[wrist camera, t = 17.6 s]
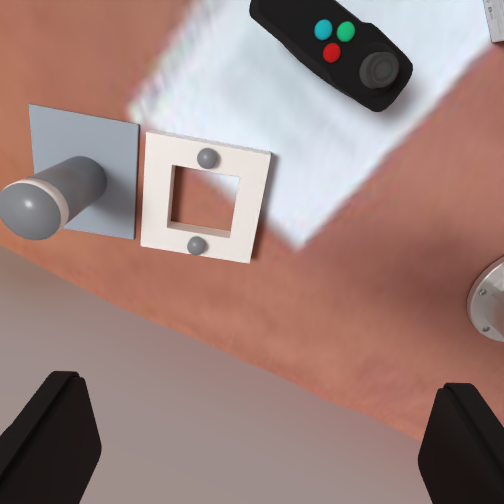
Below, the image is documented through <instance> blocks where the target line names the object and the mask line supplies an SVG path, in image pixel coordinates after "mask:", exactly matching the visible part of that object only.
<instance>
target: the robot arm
mask: <svg viewBox="0 0 504 504" xmlns="http://www.w3.org/2000/svg"><path fill="white" fill-rule="evenodd" d="M467 314H468V317H469V319H470V321H471V323H472V324H473V325H474V327H475V328H476V329H477V330H478V331H479V332H480V333H481V334H483V335H484V336H486V337H487V338H490V339H493V340H495V341H500V342H504V256H503V257H501V258H500V259H498V260H497V261H495V262H494V263H492V264H491V265H490V266H489V267H488V268H486V269H485V270H484V271H483V272H482V273H481V275H480V276H479V277H478V278H477V279H476V281H475V282H474V284H473V286H472V288H471V290H470V292H469V295H468V298H467ZM100 455H101V441H100V437H99V433H98V429H97V425H96V421H95V417H94V413H93V410H92V406H91V402H90V398H89V394H88V390H87V386H86V382H85V379H84V378H82V377H80V376H79V374H78V373H77V372H72V371H53V372H52V373H51V374H50V375H49V376H48V377H47V378H46V380H45V381H44V382H43V384H42V385H41V386H40V388H39V389H38V390H37V391H36V393H35V394H34V395H33V397H32V398H31V399H30V401H29V402H28V403H27V405H26V406H25V407H24V408H23V410H22V411H21V413H20V414H19V415H18V416H17V418H16V419H15V420H14V422H13V423H12V424H11V425H10V426H9V427H8V428H7V429H6V430H5V431H4V432H3V433H2V435H1V436H0V504H79V503H80V500H81V498H82V496H83V494H84V491H85V489H86V487H87V485H88V483H89V481H90V478H91V476H92V474H93V472H94V470H95V467H96V465H97V463H98V461H99V458H100ZM418 466H419V470H420V473H421V476H422V478H423V481H424V483H425V485H426V488H427V491H428V493H429V496H430V498H431V500H432V503H433V504H504V427H503V426H502V424H501V423H500V422H499V420H498V419H497V417H496V416H495V414H494V413H493V412H492V410H491V409H490V407H489V406H488V404H487V403H486V402H485V400H484V399H483V397H482V396H481V394H480V393H479V392H478V390H477V389H476V388H475V386H474V385H472V384H470V383H446V384H445V385H444V387H443V388H439V389H438V391H437V394H436V397H435V401H434V404H433V407H432V411H431V414H430V417H429V421H428V424H427V428H426V431H425V434H424V438H423V441H422V445H421V448H420V452H419V455H418Z"/></svg>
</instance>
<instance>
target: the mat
mask: <svg viewBox="0 0 504 504" xmlns="http://www.w3.org/2000/svg"><path fill="white" fill-rule="evenodd" d="M29 115H30V127H31V139H32V151H33V163H34V174H36V173H38V172H41V171H43V170H45V169H47V168H49V167H52V166H54V165H56V164H58V163H60V162H63V161H65V160H67V159H69V158H71V157H75V156H84V157H88V158H90V159H92V160H94V161H95V162H97V163H98V164H99V165H100V166H101V167H102V169H103V170H104V172H105V175H106V178H107V187H106V190H105V192H104V193H103V195H102V196H100V197H99V198H98V199H97V200H96V201H94V202H93V203H92V204H91V205H89V206H88V207H87V208H86V209H84V210H83V211H82V212H81V213H79V214H78V215H77V216H76V217H74V218H73V219H72V220H71V221H69V222H68V223H67V224H66V225H65V226H64V227H63V228H65V229H72V230H78V231H84V232H90V233H96V234H102V235H108V236H114V237H121V238H127V239H134V233H135V208H136V184H137V160H138V136H139V124H135V123H130V122H124V121H119V120H114V119H108V118H103V117H98V116H92V115H87V114H82V113H76V112H71V111H65V110H60V109H55V108H49V107H44V106H39V105H33V104H29Z"/></svg>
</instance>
